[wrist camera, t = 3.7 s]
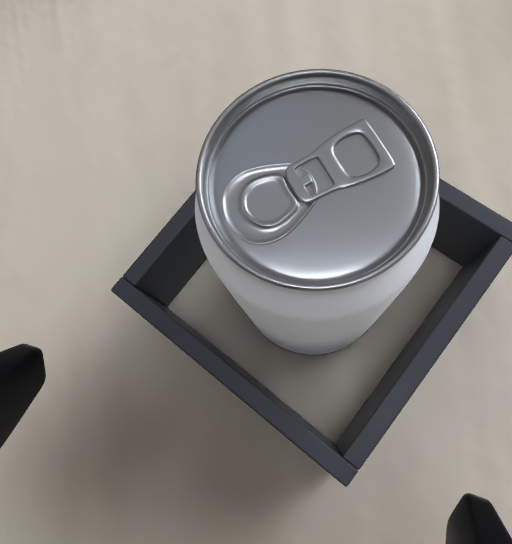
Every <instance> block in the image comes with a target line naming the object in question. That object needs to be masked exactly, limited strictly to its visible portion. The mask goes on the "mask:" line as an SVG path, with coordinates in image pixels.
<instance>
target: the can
mask: <svg viewBox="0 0 512 544" xmlns="http://www.w3.org/2000/svg"><path fill="white" fill-rule="evenodd" d="M439 184H440V172H439V162H438V157H437V152H436V149H435V146H434V143H433V140H432V138H431V136H430V133H429V131H428V130H427V128H426V126H425V124H424V123H423V121H422V120H421V118H420V117H419V116H418V114H417V113H416V112H415V111H414V109H413V108H412V107H411V106H410V105H409V104H408V103H407V102H406V101H405V100H404V99H402V98H401V97H400V96H399V95H398V94H396V93H395V92H393V91H392V90H390V89H389V88H387V87H386V86H384V85H382V84H380V83H378V82H376V81H374V80H372V79H370V78H367V77H364V76H361V75H358V74H355V73H351V72H346V71H341V70H332V69H308V70H300V71H294V72H290V73H286V74H282V75H279V76H276V77H273V78H271V79H268V80H266V81H264V82H262V83H260V84H258V85H256V86H254V87H252V88H251V89H249V90H248V91H246V92H245V93H243V94H242V95H241V96H239V97H238V98H237V99H236V100H235V101H233V102H232V103H231V104H230V105H229V106H228V107H227V108H226V109H225V110H224V111H223V113H222V114H221V115H220V116H219V117H218V119H217V120H216V121H215V123H214V124H213V126H212V128H211V129H210V131H209V133H208V135H207V137H206V139H205V141H204V143H203V146H202V149H201V152H200V155H199V159H198V164H197V170H196V196H195V220H196V226H197V231H198V235H199V239H200V242H201V245H202V248H203V250H204V253H205V255H206V257H207V259H208V261H209V263H210V264H211V266H212V268H213V269H214V271H215V273H216V274H217V276H218V277H219V278H220V280H221V281H222V283H223V284H224V285H225V287H226V288H227V289H228V291H229V292H230V293H231V295H232V296H233V297H234V299H235V300H236V301H237V303H238V304H239V305H240V306H241V308H242V309H243V310H244V312H245V313H246V314H247V315H248V317H249V318H250V319H251V320H252V322H253V323H254V324H255V325H256V327H257V328H258V329H259V330H260V331H261V332H262V333H263V334H264V335H265V336H266V337H267V338H268V339H269V340H270V341H272V342H273V343H275V344H276V345H278V346H280V347H282V348H284V349H286V350H289V351H292V352H295V353H300V354H307V355H319V354H326V353H331V352H334V351H337V350H340V349H342V348H344V347H346V346H348V345H350V344H352V343H353V342H355V341H356V340H357V339H358V338H360V337H361V336H362V335H363V334H364V333H365V332H366V331H367V330H368V329H369V328H370V327H371V326H372V325H373V323H374V322H375V321H376V320H377V319H378V318H379V317H380V316H381V315H382V313H383V312H384V311H385V310H386V309H387V308H388V307H389V305H390V304H391V303H392V302H393V301H394V300H395V299H396V297H397V296H398V295H399V294H400V293H401V292H402V290H403V289H404V288H405V287H406V285H407V284H408V283H409V282H410V281H411V279H412V278H413V277H414V275H415V274H416V272H417V271H418V270H419V268H420V267H421V265H422V263H423V262H424V260H425V258H426V256H427V254H428V252H429V250H430V247H431V245H432V242H433V240H434V237H435V233H436V230H437V225H438V219H439Z"/></svg>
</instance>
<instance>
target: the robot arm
mask: <svg viewBox="0 0 512 544" xmlns="http://www.w3.org/2000/svg"><path fill="white" fill-rule="evenodd" d="M45 377H46V373H45V366H44V359H43V353H42V351H41V349H39V348H37V347H34V346H31V345H28V344H20V345H17V346H14V347H12V348H9V349H7V350H4V351H2V352H0V448H1V447H2V446H3V444H4V443H5V441H6V440H7V439H8V437H9V436H10V434H11V433H12V431H13V430H14V428H15V427H16V425H17V424H18V422H19V421H20V419H21V418H22V416H23V415H24V413H25V412H26V410H27V409H28V407H29V406H30V404H31V403H32V401H33V400H34V398H35V397H36V395H37V394H38V392H39V391H40V389H41V388H42V386H43V384H44V382H45ZM446 544H512V538H511V537H510V535H509V533H508V531H507V530H506V528H505V526H504V524H503V523H502V521H501V519H500V517H499V516H498V514H497V512H496V510H495V509H494V507H493V505H492V504H491V503H490V502H489V501H488V500H487V499H485V498H482V497H479V496H476V495H473V494H470V493H467V494H464V495H463V497H462V498H461V500H460V501H459V503H458V504H457V506H456V507H455V509H454V511H453V512H452V514H451V515H450V517H449V520H448V524H447V531H446Z"/></svg>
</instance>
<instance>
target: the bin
mask: <svg viewBox="0 0 512 544" xmlns="http://www.w3.org/2000/svg"><path fill="white" fill-rule="evenodd" d="M195 196H196V190H195V191H194V193H193V194H192V195H191V196H190V197H189V198H188V200H187V201H186V202H185V203H184V204H183V206H182V207H181V208H180V209H179V210H178V211H177V213H176V214H175V215H174V216H173V217H172V218H171V220H170V221H169V222H168V223H167V224H166V226H165V227H164V228H163V229H162V230H161V231H160V233H159V234H158V235H157V236H156V237H155V239H154V240H153V241H152V242H151V243H150V244H149V246H148V247H147V248H146V249H145V250H144V252H143V253H142V254H141V255H140V256H139V257H138V259H137V260H136V261H135V262H134V263H133V264H132V266H131V267H130V268H129V269H128V270H127V272H126V273H125V274H124V275H123V277H124V278H123V277H121V278H120V280H119V281H118V282H117V283H116V284H115V285H114V287H113V288H112V289H111V290H112V292H113V293H115V294H116V295H117V296H118V297H119V298H121V299H122V300H123V301H124V302H125V303H127V304H128V305H129V306H130V307H131V308H133V309H134V310H135V311H136V312H137V313H139V314H140V315H141V316H142V317H143V318H144V319H146V320H147V321H148V322H149V323H150V324H152V325H153V326H154V327H155V328H156V329H158V330H159V331H160V332H161V333H162V334H164V335H165V336H166V337H167V338H168V339H170V340H171V341H172V342H173V343H174V344H176V345H177V346H178V347H179V348H180V349H182V350H183V351H184V352H185V353H186V354H187V355H189V356H190V357H191V358H192V359H193V360H195V361H196V362H197V363H198V364H199V365H201V366H202V367H203V368H204V369H205V370H207V371H208V372H209V373H210V374H211V375H213V376H214V377H215V378H216V379H217V380H219V381H220V382H221V383H222V384H223V385H225V386H226V387H227V388H228V389H229V390H230V391H232V392H233V393H234V394H235V395H236V396H238V397H239V398H240V399H241V400H242V401H244V402H245V403H246V404H247V405H248V406H250V407H251V408H252V409H253V410H254V411H256V412H257V413H258V414H259V415H260V416H262V417H263V418H264V419H265V420H266V421H268V422H269V423H270V424H271V425H272V426H273V427H275V428H276V429H277V430H278V431H279V432H281V433H282V434H283V435H284V436H285V437H287V438H288V439H289V440H290V441H291V442H293V443H294V444H295V445H296V446H297V447H299V448H300V449H301V450H302V451H303V452H305V453H306V454H307V455H308V456H309V457H311V458H312V459H313V460H314V461H315V462H316V463H318V464H319V465H320V466H321V467H322V468H324V469H325V470H326V471H327V472H328V473H330V474H331V475H332V476H333V477H334V478H336V479H337V480H338V481H339V482H340V483H342V484H343V485H344V486H346V487H347V486H348V485H349V483H350V482H351V481H352V479H353V478H354V476H355V475H356V473H357V472H358V470H359V469H360V468H361V466H362V465H363V464H364V462H365V461H366V459H367V458H368V457H369V455H370V454H371V452H372V451H373V450H374V448H375V447H376V445H377V444H378V442H379V441H380V440H381V438H382V437H383V435H384V434H385V433H386V431H387V430H388V428H389V427H390V426H391V424H392V423H393V421H394V420H395V418H396V417H397V416H398V414H399V413H400V411H401V410H402V409H403V407H404V406H405V404H406V403H407V402H408V400H409V399H410V397H411V396H412V394H413V393H414V392H415V390H416V389H417V387H418V386H419V385H420V383H421V382H422V380H423V379H424V378H425V376H426V375H427V373H428V372H429V370H430V369H431V368H432V366H433V365H434V363H435V362H436V361H437V359H438V358H439V356H440V355H441V354H442V352H443V351H444V349H445V348H446V347H447V345H448V344H449V342H450V341H451V339H452V338H453V337H454V335H455V334H456V332H457V331H458V330H459V328H460V327H461V325H462V324H463V323H464V321H465V320H466V318H467V317H468V315H469V314H470V313H471V311H472V310H473V308H474V307H475V306H476V304H477V303H478V301H479V300H480V299H481V297H482V296H483V294H484V293H485V291H486V290H487V289H488V287H489V286H490V284H491V283H492V282H493V280H494V279H495V277H496V276H497V275H498V273H499V272H500V270H501V269H502V267H503V266H504V265H505V263H506V262H507V260H508V259H509V258H510V256H511V255H512V222H511V221H509V220H507V219H506V218H504V217H502V216H501V215H499V214H497V213H496V212H494V211H493V210H491V209H489V208H488V207H486V206H484V205H483V204H481V203H479V202H478V201H476V200H474V199H473V198H471V197H470V196H468V195H466V194H465V193H463V192H461V191H460V190H458V189H456V188H455V187H453V186H451V185H450V184H448V183H447V182H445V181H443V180H442V179H440V184H439V219H438V225H437V230H436V233H435V237H434V240H433V242H432V245H431V246H433V247H434V248H436V249H437V250H439V251H440V252H442V253H443V254H445V255H446V256H448V257H449V258H451V259H452V260H454V261H456V262H457V263H459V264H460V265H462V266H463V268H462V270H461V271H460V272H459V274H458V275H457V276H456V278H455V279H454V281H453V282H452V283H451V285H450V286H449V288H448V289H447V290H446V292H445V293H444V294H443V296H442V297H441V299H440V300H439V301H438V303H437V304H436V306H435V307H434V308H433V310H432V311H431V312H430V314H429V315H428V317H427V318H426V319H425V321H424V322H423V324H422V325H421V326H420V328H419V329H418V330H417V332H416V333H415V335H414V336H413V337H412V339H411V340H410V341H409V343H408V344H407V346H406V347H405V348H404V350H403V351H402V353H401V354H400V355H399V357H398V358H397V359H396V361H395V362H394V364H393V365H392V366H391V368H390V369H389V371H388V372H387V373H386V375H385V376H384V377H383V379H382V380H381V382H380V383H379V384H378V386H377V387H376V388H375V390H374V391H373V393H372V394H371V395H370V397H369V398H368V400H367V401H366V402H365V404H364V405H363V406H362V408H361V409H360V411H359V412H358V413H357V415H356V416H355V418H354V419H353V420H352V422H351V423H350V424H349V426H348V427H347V429H346V430H345V431H344V433H343V434H342V435H341V437H340V438H339V440H338V441H337V442H336V445H335V444H334V443H333V442H331V441H330V440H329V439H328V438H327V437H325V436H324V435H323V434H322V433H320V432H319V431H318V430H317V429H316V428H314V427H313V426H312V425H311V424H309V423H308V422H307V421H306V420H305V419H303V418H302V417H301V416H300V415H298V414H297V413H296V412H295V411H293V410H292V409H291V408H290V407H289V406H287V405H286V404H285V403H284V402H282V401H281V400H280V399H279V398H278V397H276V396H275V395H274V394H273V393H271V392H270V391H269V390H268V389H267V388H265V387H264V386H263V385H262V384H260V383H259V382H258V381H257V380H256V379H254V378H253V377H252V376H251V375H249V374H248V373H247V372H246V371H244V370H243V369H242V368H241V367H240V366H238V365H237V364H236V363H235V362H233V361H232V360H231V359H230V358H229V357H227V356H226V355H225V354H224V353H222V352H221V351H220V350H219V349H218V348H216V347H215V346H214V345H213V344H211V343H210V342H209V341H208V340H207V339H205V338H204V337H203V336H202V335H200V334H199V333H198V332H197V331H195V330H194V329H193V328H192V327H191V326H189V325H188V324H187V323H186V322H184V321H183V320H182V319H181V318H180V317H178V316H177V315H176V314H175V313H173V312H172V311H171V310H170V309H169V308H167V307H166V306H168V305H169V303H170V302H171V301H172V300H173V298H174V297H175V296H176V295H177V294H178V292H179V291H180V290H181V289H182V287H183V286H184V285H185V284H186V283H187V281H188V280H189V279H190V278H191V277H192V275H193V274H194V273H195V272H196V270H197V269H198V268H199V267H200V266H201V264H202V263H203V262H204V261H205V260H206V258H207V257H206V255H205V253H204V250H203V248H202V245H201V242H200V239H199V235H198V231H197V226H196V220H195ZM357 469H358V470H357Z"/></svg>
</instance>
